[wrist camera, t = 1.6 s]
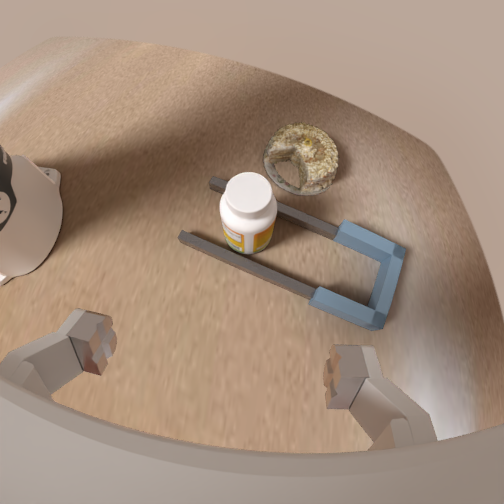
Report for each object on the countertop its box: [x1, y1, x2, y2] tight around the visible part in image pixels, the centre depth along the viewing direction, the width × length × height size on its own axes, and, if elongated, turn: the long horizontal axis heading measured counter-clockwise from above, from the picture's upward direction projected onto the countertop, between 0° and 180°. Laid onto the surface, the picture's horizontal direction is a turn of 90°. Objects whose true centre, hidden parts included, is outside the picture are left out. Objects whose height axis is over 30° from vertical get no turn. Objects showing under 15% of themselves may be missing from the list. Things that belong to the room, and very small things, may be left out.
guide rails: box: [178, 176, 339, 300], centre depth 34 cm, size 16×8×2 cm, turn 66°
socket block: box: [308, 219, 406, 331], centre depth 32 cm, size 8×10×3 cm
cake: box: [263, 122, 339, 196], centre depth 36 cm, size 10×10×5 cm
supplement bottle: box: [220, 172, 277, 254], centre depth 30 cm, size 5×5×10 cm
